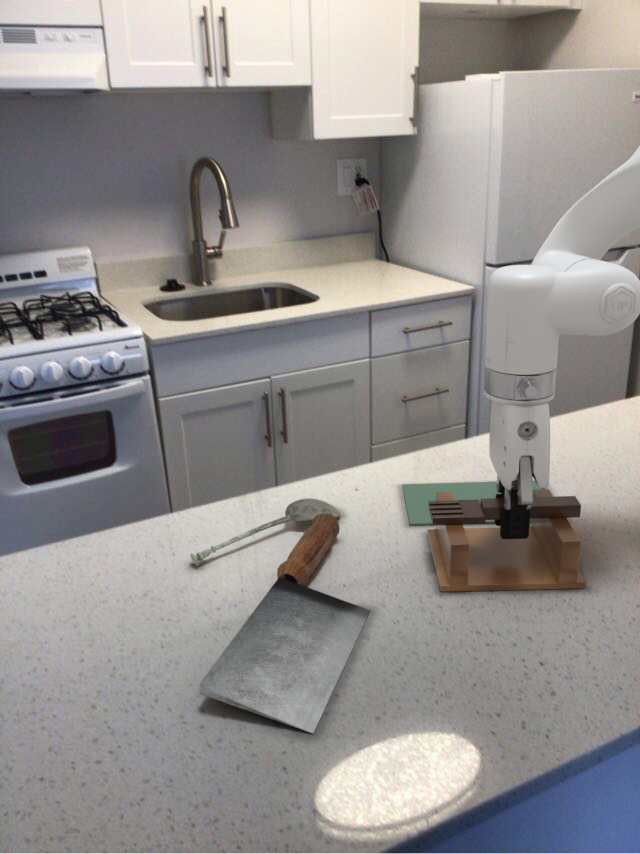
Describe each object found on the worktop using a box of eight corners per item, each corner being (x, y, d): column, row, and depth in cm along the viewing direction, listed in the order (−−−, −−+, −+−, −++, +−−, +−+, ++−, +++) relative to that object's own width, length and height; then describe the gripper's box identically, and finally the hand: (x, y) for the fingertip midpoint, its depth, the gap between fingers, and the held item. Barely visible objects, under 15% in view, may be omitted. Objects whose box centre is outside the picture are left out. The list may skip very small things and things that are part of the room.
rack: (553, 531, 96) (557, 488, 94) (585, 588, 84) (590, 541, 82) (427, 534, 97) (427, 492, 94) (440, 591, 84) (441, 544, 82)
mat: (540, 482, 110) (540, 480, 109) (563, 521, 98) (564, 519, 98) (402, 486, 110) (402, 484, 110) (409, 525, 99) (409, 523, 99)
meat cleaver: (315, 734, 65) (313, 696, 64) (196, 709, 68) (192, 672, 67) (400, 546, 95) (400, 517, 93) (314, 535, 98) (313, 507, 97)
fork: (571, 504, 90) (572, 491, 89) (582, 521, 86) (584, 509, 85) (428, 508, 90) (428, 496, 90) (432, 525, 86) (432, 513, 86)
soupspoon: (350, 523, 101) (321, 508, 107) (350, 500, 100) (320, 486, 106) (205, 576, 89) (180, 556, 94) (203, 550, 88) (177, 531, 93)
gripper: (576, 405, 75) (562, 566, 81) (535, 360, 90) (527, 499, 96) (499, 407, 75) (492, 568, 81) (472, 362, 90) (467, 501, 96)
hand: (511, 529), depth 89 cm, fingers closed on fork, 2 cm apart
